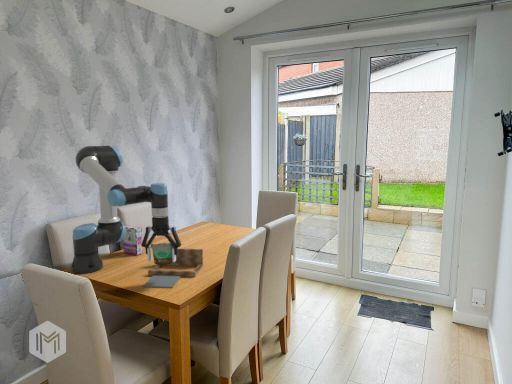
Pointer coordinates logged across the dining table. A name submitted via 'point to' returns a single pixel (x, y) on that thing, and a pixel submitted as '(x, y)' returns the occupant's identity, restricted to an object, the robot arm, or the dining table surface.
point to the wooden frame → (182, 263)
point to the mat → (162, 281)
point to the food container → (162, 253)
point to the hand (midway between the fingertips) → (162, 261)
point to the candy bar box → (133, 240)
